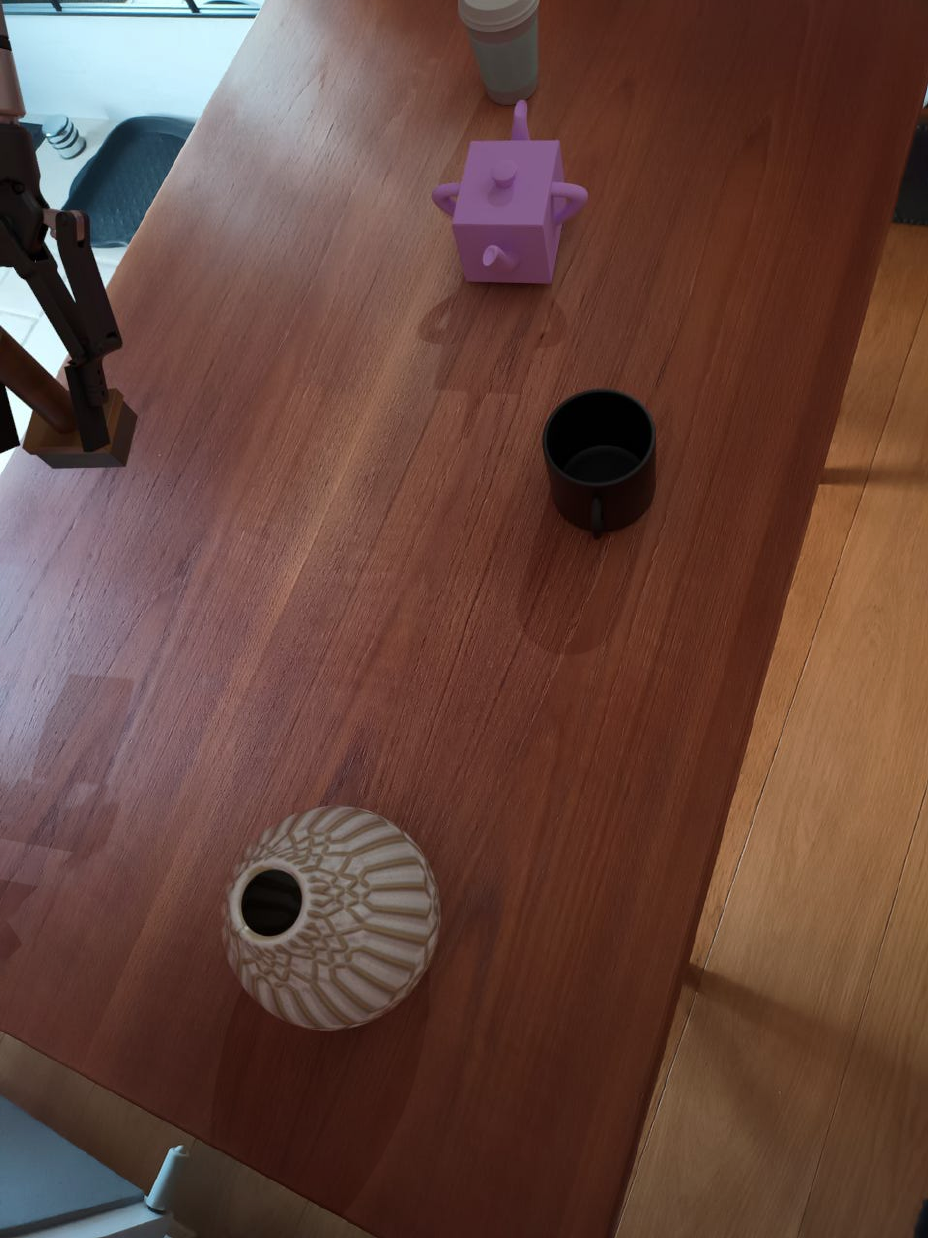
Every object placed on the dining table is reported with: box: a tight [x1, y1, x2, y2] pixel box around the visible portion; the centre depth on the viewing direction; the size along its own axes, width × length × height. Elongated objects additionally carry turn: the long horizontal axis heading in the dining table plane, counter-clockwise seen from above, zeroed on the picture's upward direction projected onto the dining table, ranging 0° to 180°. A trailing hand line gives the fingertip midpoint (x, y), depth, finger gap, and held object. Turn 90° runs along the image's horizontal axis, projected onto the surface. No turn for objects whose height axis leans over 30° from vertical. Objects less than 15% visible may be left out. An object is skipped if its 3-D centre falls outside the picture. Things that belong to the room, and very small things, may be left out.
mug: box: [541, 388, 657, 541], centre depth 83 cm, size 9×12×9 cm
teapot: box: [431, 100, 589, 285], centre depth 94 cm, size 15×13×11 cm
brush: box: [0, 324, 139, 470], centre depth 75 cm, size 7×5×14 cm
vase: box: [220, 805, 442, 1032], centre depth 69 cm, size 16×16×20 cm
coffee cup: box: [457, 0, 541, 106], centre depth 102 cm, size 8×8×12 cm
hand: (51, 448), depth 76 cm, fingers closed on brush, 7 cm apart
